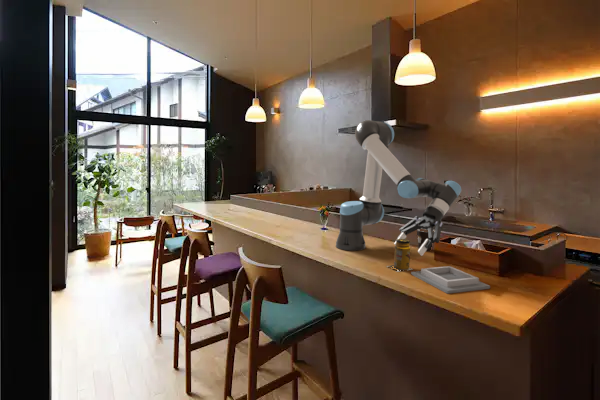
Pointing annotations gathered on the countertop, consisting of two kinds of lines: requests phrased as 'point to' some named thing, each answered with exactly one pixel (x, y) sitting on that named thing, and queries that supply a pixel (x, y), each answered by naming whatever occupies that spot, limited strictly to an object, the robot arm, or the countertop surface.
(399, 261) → the condiment
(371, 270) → the countertop surface
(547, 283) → the countertop surface
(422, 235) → the coffee mug
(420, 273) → the tray
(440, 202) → the robot arm
